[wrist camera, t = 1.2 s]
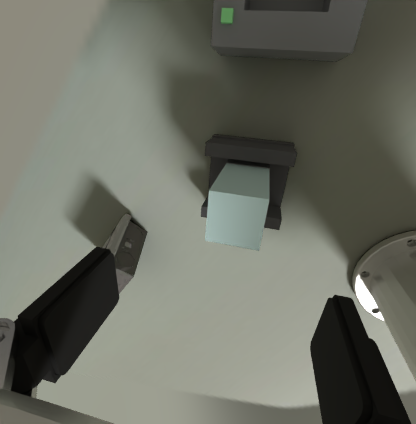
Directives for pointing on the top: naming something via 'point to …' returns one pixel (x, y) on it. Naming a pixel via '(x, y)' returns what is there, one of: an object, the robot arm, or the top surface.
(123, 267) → the electrical switch
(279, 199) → the dark grey flanged block
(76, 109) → the top surface
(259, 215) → the plug
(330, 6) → the port
